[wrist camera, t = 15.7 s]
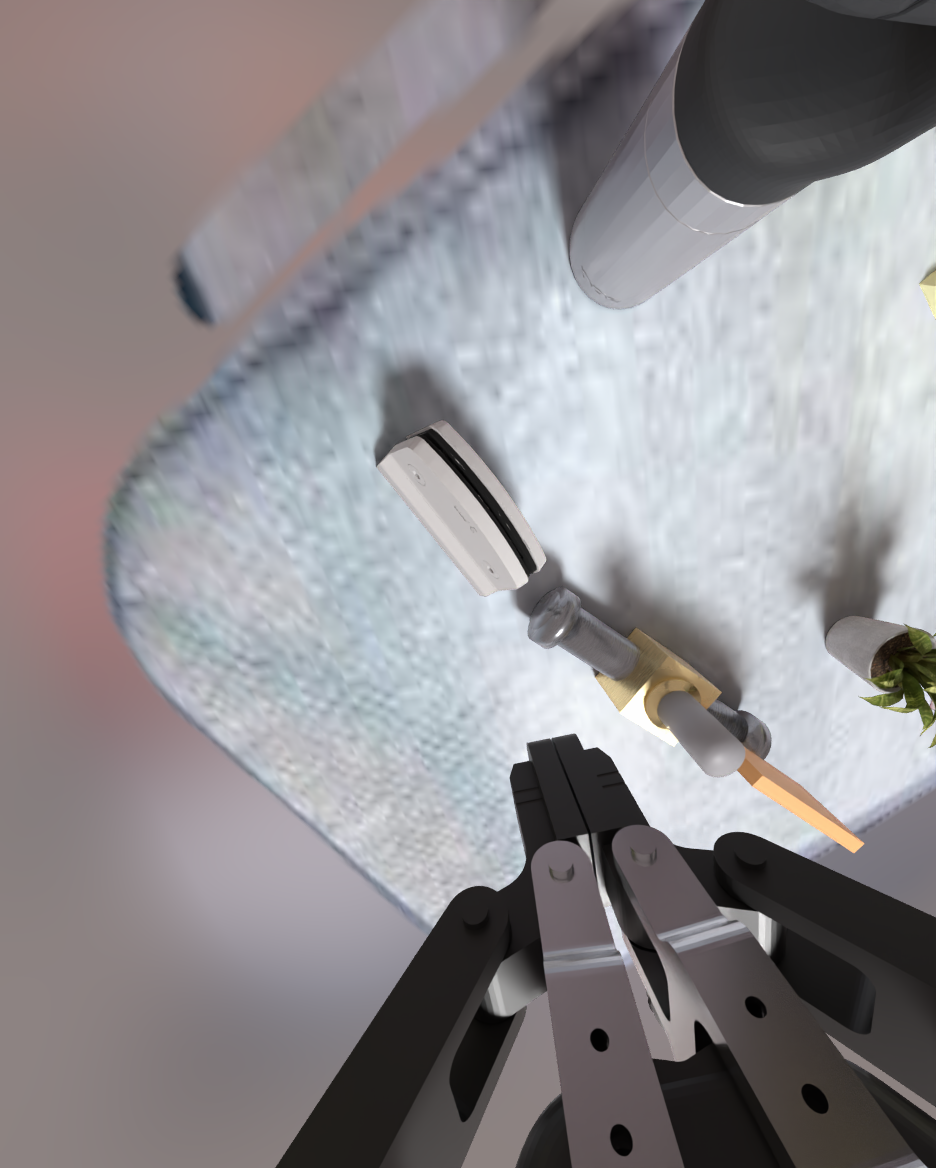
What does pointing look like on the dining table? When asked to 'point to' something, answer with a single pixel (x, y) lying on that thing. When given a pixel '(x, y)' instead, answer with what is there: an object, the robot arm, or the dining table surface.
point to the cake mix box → (932, 706)
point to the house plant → (889, 662)
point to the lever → (743, 763)
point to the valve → (636, 669)
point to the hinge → (464, 508)
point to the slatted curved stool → (930, 291)
